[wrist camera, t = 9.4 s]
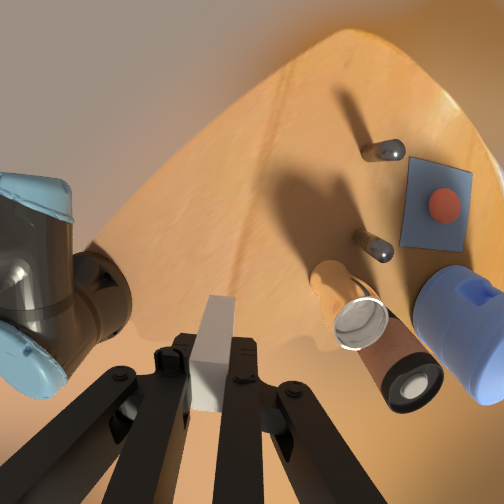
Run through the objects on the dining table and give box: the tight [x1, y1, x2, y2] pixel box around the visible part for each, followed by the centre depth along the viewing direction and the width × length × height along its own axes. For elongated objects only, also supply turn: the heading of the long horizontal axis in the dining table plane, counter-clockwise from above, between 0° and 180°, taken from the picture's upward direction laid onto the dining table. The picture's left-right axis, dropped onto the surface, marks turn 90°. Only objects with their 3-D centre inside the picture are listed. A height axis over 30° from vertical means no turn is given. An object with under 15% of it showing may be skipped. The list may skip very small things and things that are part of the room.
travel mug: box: [357, 307, 444, 414], centre depth 37 cm, size 8×8×20 cm
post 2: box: [352, 229, 394, 263], centre depth 39 cm, size 3×3×9 cm
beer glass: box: [310, 260, 389, 350], centre depth 37 cm, size 7×7×15 cm
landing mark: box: [399, 157, 473, 252], centre depth 42 cm, size 14×14×1 cm
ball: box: [429, 188, 461, 224], centre depth 39 cm, size 6×6×6 cm
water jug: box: [413, 265, 504, 405], centre depth 33 cm, size 16×16×28 cm
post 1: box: [361, 139, 406, 162], centre depth 36 cm, size 3×3×9 cm
